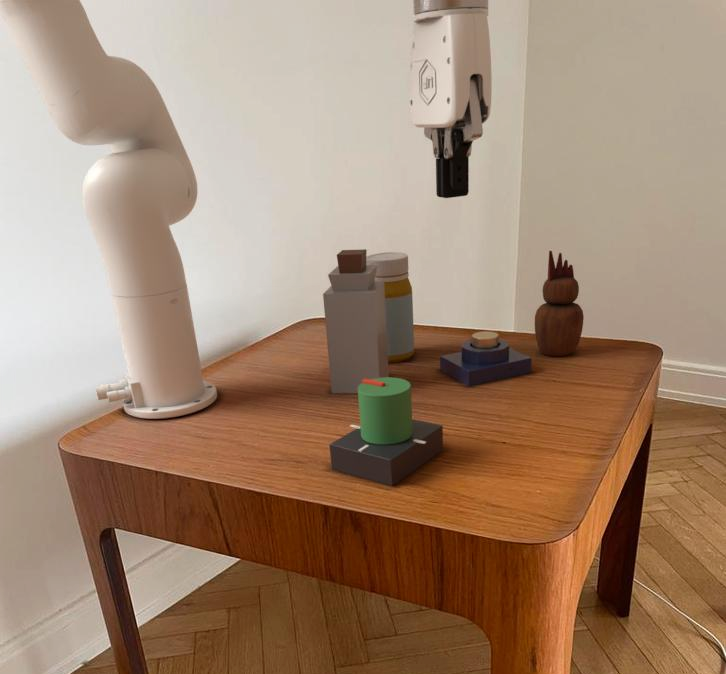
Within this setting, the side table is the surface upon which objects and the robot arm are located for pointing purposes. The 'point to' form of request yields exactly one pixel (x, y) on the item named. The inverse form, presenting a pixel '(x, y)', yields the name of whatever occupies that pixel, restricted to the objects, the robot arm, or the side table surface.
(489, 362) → the button block
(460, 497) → the side table surface
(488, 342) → the button
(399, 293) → the bottle
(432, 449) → the knob base
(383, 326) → the perfume bottle
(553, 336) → the wooden figurine
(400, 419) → the green rotary knob
